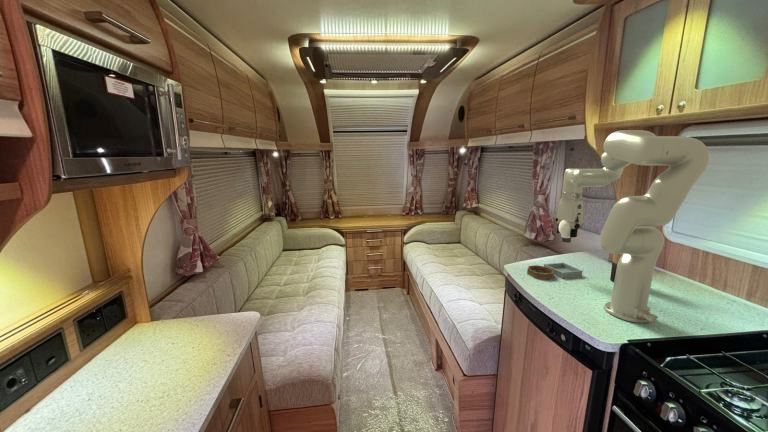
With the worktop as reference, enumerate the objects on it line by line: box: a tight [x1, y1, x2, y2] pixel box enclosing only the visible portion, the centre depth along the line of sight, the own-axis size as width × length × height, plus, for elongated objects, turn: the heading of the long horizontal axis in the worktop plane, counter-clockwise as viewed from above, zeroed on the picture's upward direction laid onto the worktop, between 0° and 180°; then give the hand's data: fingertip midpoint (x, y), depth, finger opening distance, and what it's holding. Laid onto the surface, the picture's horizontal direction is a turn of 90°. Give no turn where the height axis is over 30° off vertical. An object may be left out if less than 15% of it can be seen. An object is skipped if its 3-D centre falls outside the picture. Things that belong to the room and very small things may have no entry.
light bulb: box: [559, 220, 575, 243], centre depth 135 cm, size 7×7×11 cm
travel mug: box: [609, 254, 622, 283], centre depth 127 cm, size 8×8×20 cm
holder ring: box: [526, 264, 554, 280], centre depth 136 cm, size 10×10×2 cm
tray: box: [543, 262, 583, 279], centre depth 139 cm, size 11×11×3 cm
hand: (566, 234), depth 135 cm, fingers closed on light bulb, 6 cm apart
